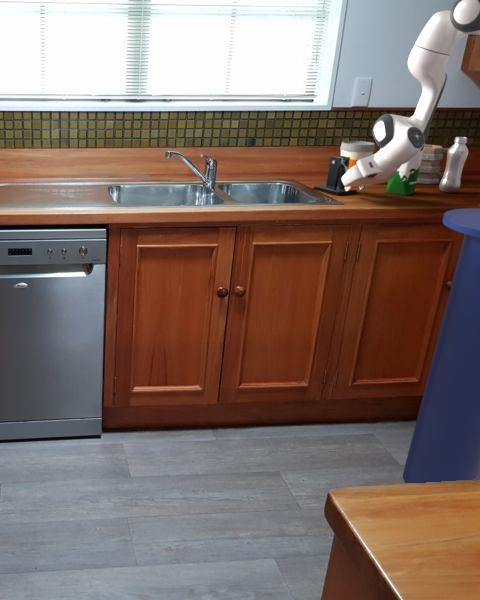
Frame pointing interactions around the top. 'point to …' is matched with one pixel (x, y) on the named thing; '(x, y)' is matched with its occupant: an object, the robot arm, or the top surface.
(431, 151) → the tankard
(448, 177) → the silver water bottle
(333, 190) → the black lever switch stand
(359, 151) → the reusable coffee cup
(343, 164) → the tap lever
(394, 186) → the milk carton
